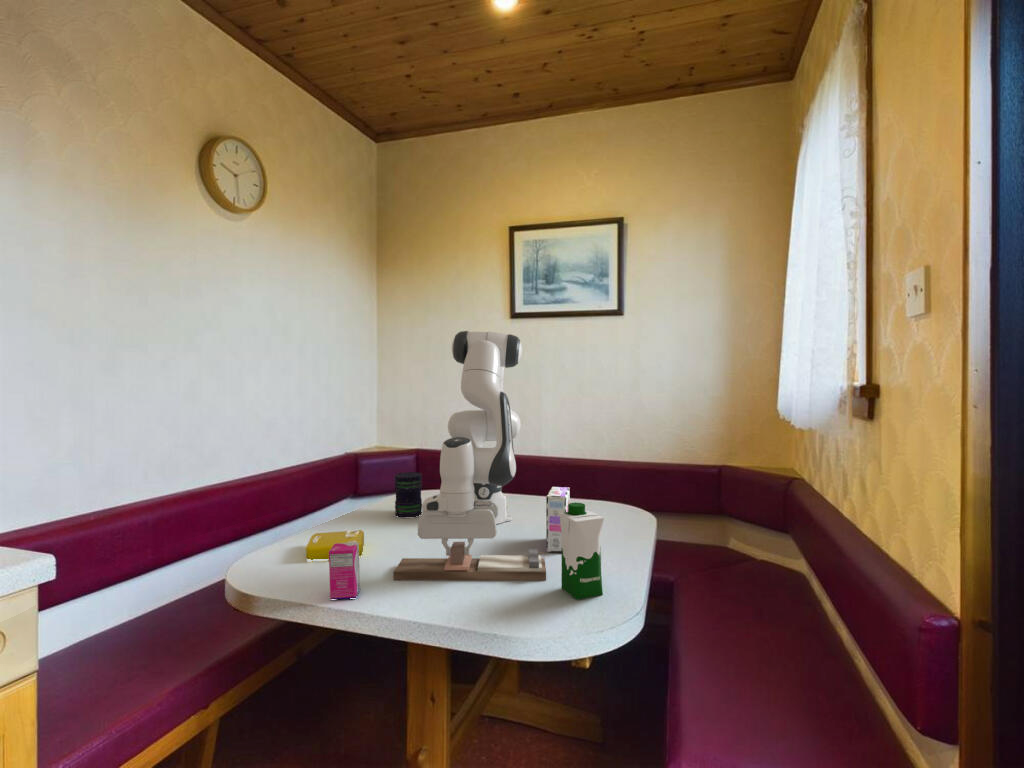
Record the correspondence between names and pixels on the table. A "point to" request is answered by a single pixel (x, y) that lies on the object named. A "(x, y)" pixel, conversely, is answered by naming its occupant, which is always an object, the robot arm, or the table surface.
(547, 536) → the candy box
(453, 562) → the pink plate with handle
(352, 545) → the supplement box
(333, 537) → the element tile
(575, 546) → the milk carton
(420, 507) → the storage jar
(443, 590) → the table surface
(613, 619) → the table surface
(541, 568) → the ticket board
